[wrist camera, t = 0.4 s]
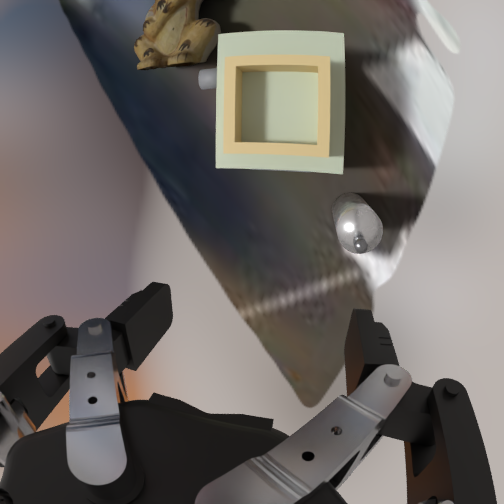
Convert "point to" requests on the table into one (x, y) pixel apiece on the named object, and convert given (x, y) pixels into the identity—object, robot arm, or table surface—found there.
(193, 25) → the figurine
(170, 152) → the table surface
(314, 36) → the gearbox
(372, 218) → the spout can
